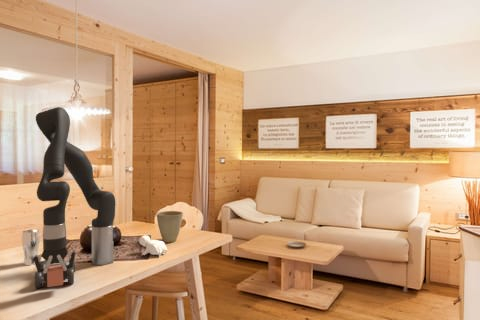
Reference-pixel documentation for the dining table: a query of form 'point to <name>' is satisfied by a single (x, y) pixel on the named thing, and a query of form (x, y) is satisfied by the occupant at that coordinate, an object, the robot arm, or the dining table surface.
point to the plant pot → (169, 224)
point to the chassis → (70, 272)
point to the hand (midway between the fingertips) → (55, 280)
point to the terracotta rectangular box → (54, 276)
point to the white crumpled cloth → (153, 246)
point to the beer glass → (30, 245)
